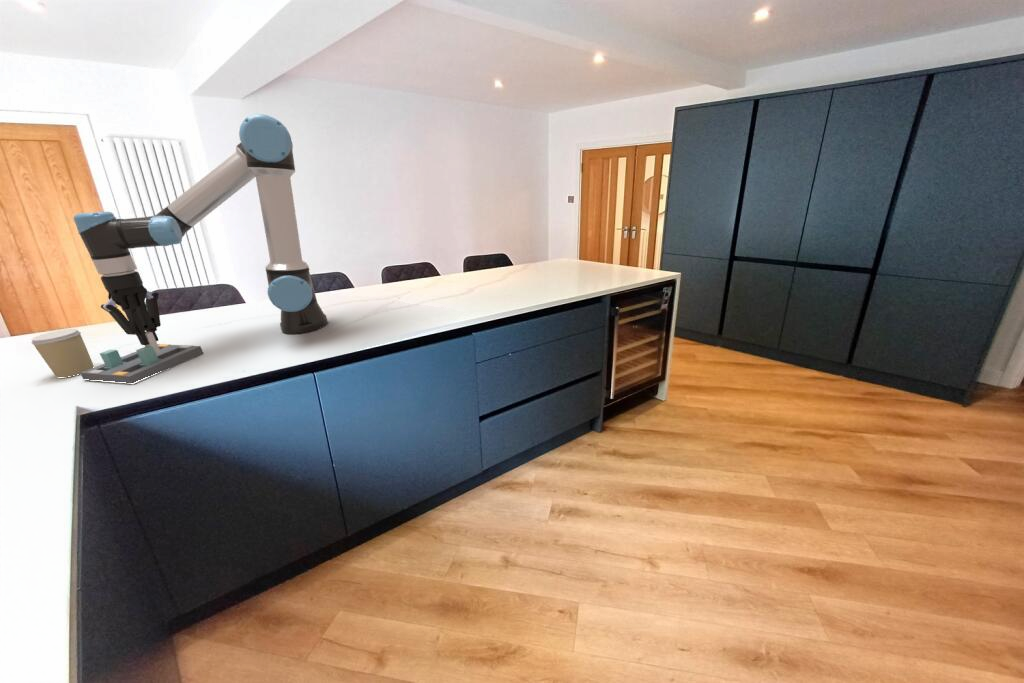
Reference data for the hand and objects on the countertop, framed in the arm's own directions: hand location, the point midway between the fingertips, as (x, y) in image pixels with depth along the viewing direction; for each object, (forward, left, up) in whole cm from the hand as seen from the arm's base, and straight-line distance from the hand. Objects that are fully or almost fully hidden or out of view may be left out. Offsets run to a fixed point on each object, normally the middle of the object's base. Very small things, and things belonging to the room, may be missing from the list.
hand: (155, 353), depth 112 cm
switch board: (+4, +1, -4) cm, 6 cm away
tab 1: (+9, +5, -3) cm, 11 cm away
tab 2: (0, +2, -3) cm, 4 cm away
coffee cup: (+23, +7, -4) cm, 25 cm away
